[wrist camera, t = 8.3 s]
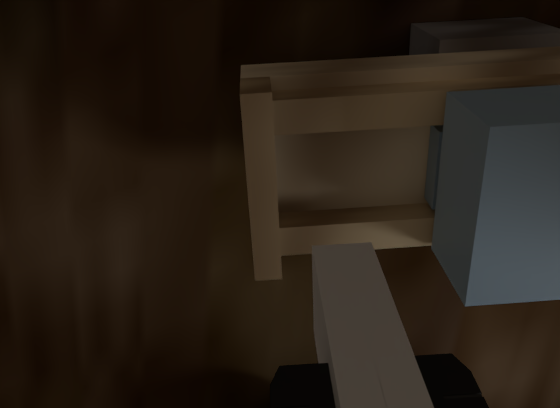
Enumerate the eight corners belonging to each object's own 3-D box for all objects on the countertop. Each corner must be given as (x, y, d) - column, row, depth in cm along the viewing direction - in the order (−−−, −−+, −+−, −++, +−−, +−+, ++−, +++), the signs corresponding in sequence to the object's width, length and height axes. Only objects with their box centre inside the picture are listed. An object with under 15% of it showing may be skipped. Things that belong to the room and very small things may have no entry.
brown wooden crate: (687, 7, 24) (874, 40, 17) (640, 171, 28) (777, 254, 20) (240, 33, 23) (238, 78, 16) (253, 196, 27) (255, 291, 20)
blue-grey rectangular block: (547, 75, 19) (636, 117, 14) (519, 224, 21) (587, 297, 17) (434, 81, 19) (490, 127, 14) (421, 231, 21) (464, 306, 17)
